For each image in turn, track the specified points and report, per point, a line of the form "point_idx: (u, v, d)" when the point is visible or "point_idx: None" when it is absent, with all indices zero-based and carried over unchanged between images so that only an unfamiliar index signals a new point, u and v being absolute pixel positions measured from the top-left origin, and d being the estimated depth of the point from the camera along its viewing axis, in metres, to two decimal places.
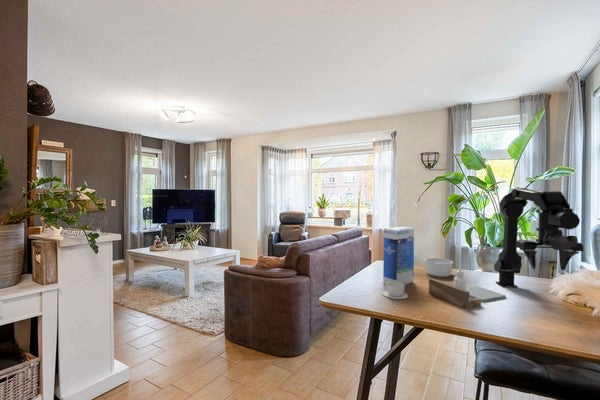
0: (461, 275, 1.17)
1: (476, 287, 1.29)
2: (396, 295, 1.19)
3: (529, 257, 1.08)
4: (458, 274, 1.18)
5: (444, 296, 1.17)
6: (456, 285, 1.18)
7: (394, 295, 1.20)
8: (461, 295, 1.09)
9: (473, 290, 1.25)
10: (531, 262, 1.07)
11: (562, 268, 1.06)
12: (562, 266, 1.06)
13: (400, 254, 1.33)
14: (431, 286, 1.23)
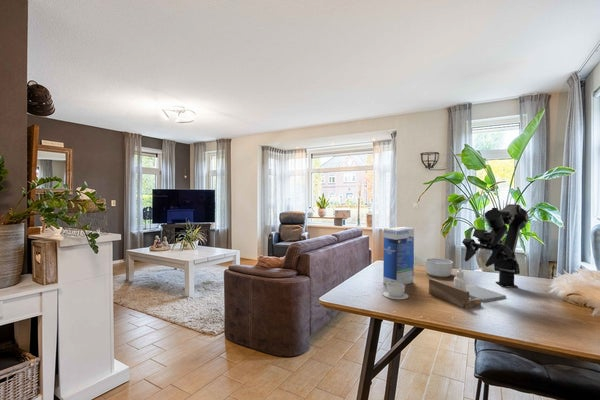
0: (461, 275, 1.17)
1: (476, 287, 1.29)
2: (396, 295, 1.19)
3: None
4: (458, 274, 1.18)
5: (444, 296, 1.17)
6: (456, 285, 1.18)
7: (394, 295, 1.19)
8: (461, 295, 1.09)
9: (473, 290, 1.25)
10: None
11: None
12: None
13: (400, 254, 1.33)
14: (431, 286, 1.23)
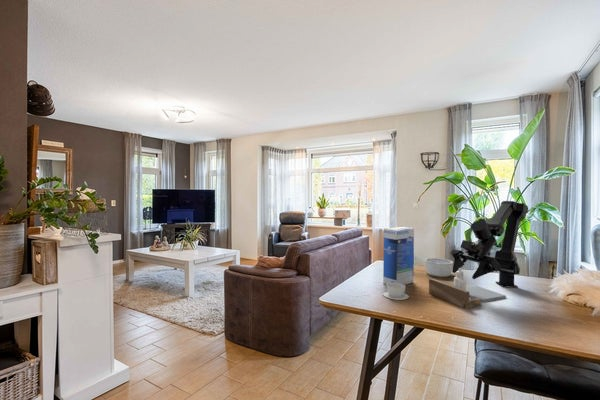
0: (461, 275, 1.17)
1: (476, 287, 1.29)
2: (397, 296, 1.18)
3: None
4: (458, 274, 1.18)
5: (444, 296, 1.17)
6: (456, 285, 1.18)
7: (395, 296, 1.19)
8: (461, 295, 1.09)
9: (473, 290, 1.25)
10: None
11: None
12: None
13: (400, 254, 1.33)
14: (431, 286, 1.23)
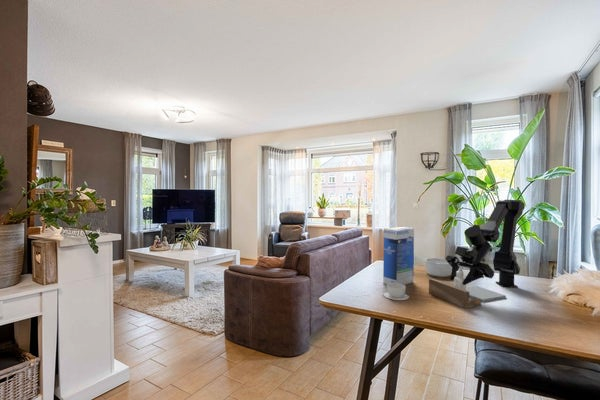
0: (461, 275, 1.17)
1: (476, 287, 1.29)
2: (397, 296, 1.18)
3: None
4: (458, 274, 1.18)
5: (444, 296, 1.17)
6: (456, 285, 1.18)
7: (395, 296, 1.18)
8: (461, 295, 1.09)
9: (473, 290, 1.25)
10: None
11: None
12: None
13: (400, 254, 1.33)
14: (431, 286, 1.23)
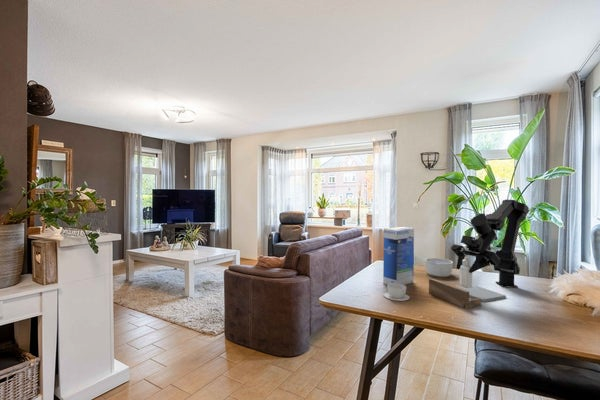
0: (467, 263, 1.19)
1: (476, 287, 1.29)
2: (398, 297, 1.17)
3: None
4: (464, 263, 1.19)
5: (444, 296, 1.17)
6: (462, 273, 1.19)
7: (396, 297, 1.18)
8: (461, 295, 1.09)
9: (473, 290, 1.25)
10: None
11: None
12: None
13: (400, 254, 1.33)
14: (431, 286, 1.23)
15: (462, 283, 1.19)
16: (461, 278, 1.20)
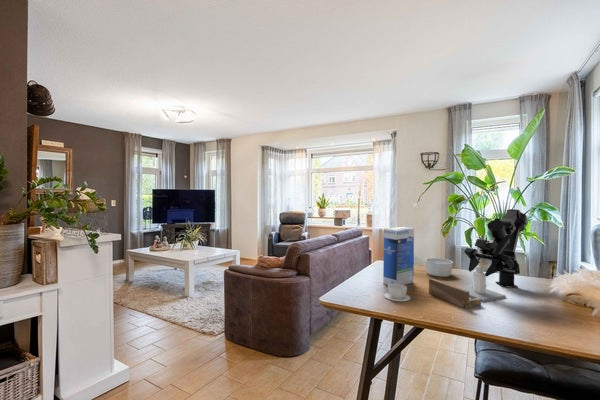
0: (481, 270, 1.21)
1: None
2: (398, 297, 1.17)
3: None
4: (478, 269, 1.22)
5: (444, 296, 1.17)
6: (476, 280, 1.22)
7: (396, 297, 1.17)
8: (461, 295, 1.09)
9: (473, 290, 1.25)
10: None
11: None
12: None
13: (400, 254, 1.33)
14: (431, 286, 1.23)
15: (476, 289, 1.22)
16: (475, 284, 1.23)
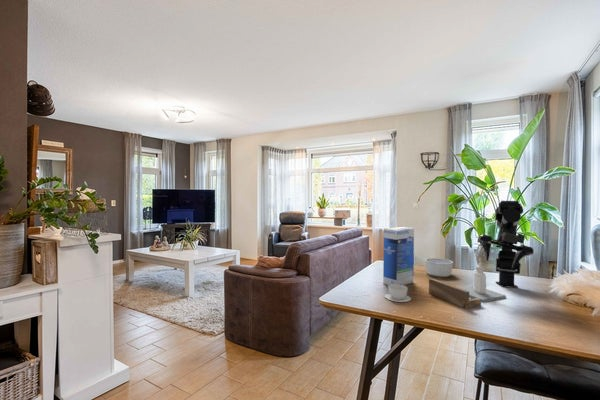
0: (481, 270, 1.21)
1: None
2: (399, 298, 1.16)
3: (485, 251, 1.25)
4: (478, 269, 1.22)
5: (444, 296, 1.17)
6: (476, 279, 1.22)
7: (397, 298, 1.16)
8: (461, 295, 1.09)
9: (473, 290, 1.25)
10: (486, 254, 1.24)
11: (512, 267, 1.20)
12: (513, 265, 1.20)
13: (400, 254, 1.33)
14: (431, 286, 1.23)
15: (476, 289, 1.22)
16: (475, 284, 1.23)
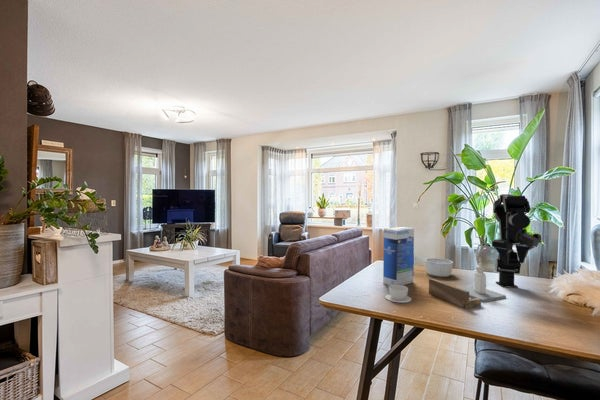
0: (481, 270, 1.21)
1: None
2: (399, 299, 1.15)
3: (503, 255, 1.20)
4: (478, 269, 1.22)
5: (444, 296, 1.17)
6: (476, 279, 1.22)
7: (397, 299, 1.16)
8: (461, 295, 1.09)
9: (473, 290, 1.25)
10: (505, 259, 1.19)
11: (521, 261, 1.23)
12: (522, 260, 1.23)
13: (400, 254, 1.33)
14: (431, 286, 1.23)
15: (476, 289, 1.22)
16: (475, 284, 1.23)
